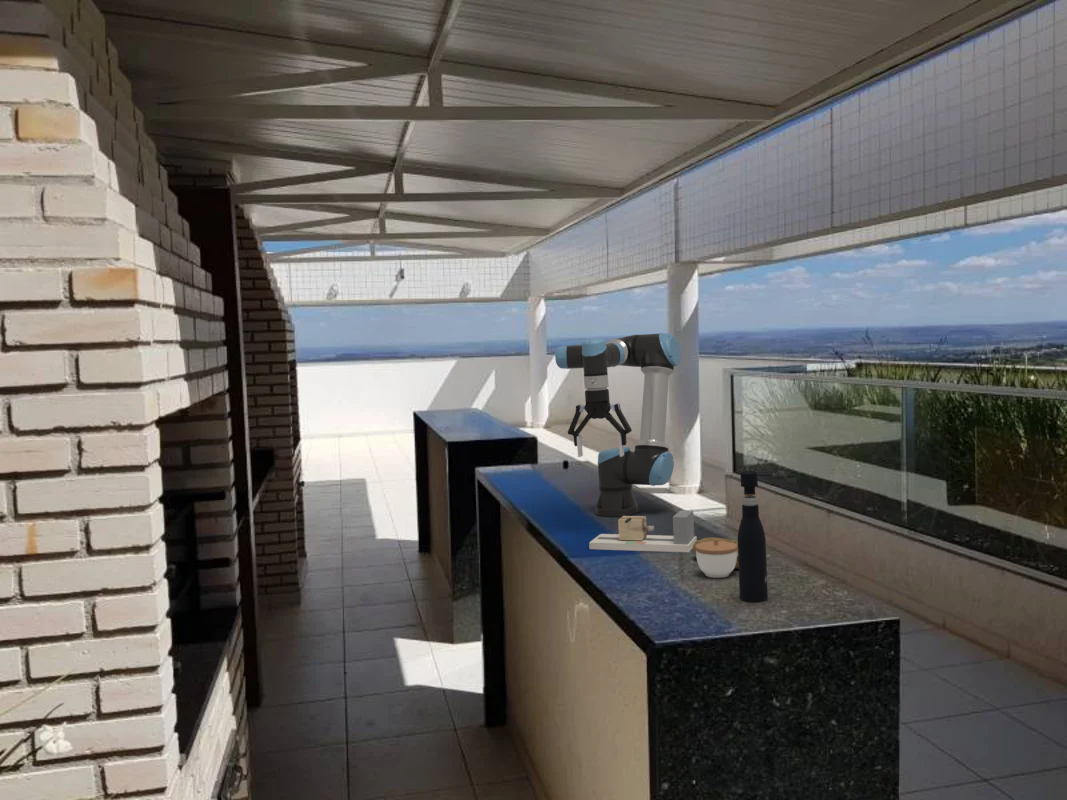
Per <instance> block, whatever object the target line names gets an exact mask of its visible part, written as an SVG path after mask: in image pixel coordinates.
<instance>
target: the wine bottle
mask: <svg viewBox="0 0 1067 800" xmlns="http://www.w3.org/2000/svg"><path fill="white" fill-rule="evenodd" d="M758 479H759V478H758V471H755V470H754V471H753V470H747V471H746V470H745V471H741V472H740V487H742V488H743V495H744V496H743V497H742V500H743V501H742V503H743V504H742V505H741V514H742V515H741V516H742V517H741V520H740V523H739V527H738V531H737V532H738V533H737V537H736V538H737V541H738V565H739V568H738V585H739V599H740V600H741V601H743V602H745V603H746V602H747V603H762V602H765V601H768V599H769V593H768V570H767V568H768V567H767V546H766V545H767V544H766V543H767V542H766V534H765V530H764V526H763V523H762V521H761V518H760V516H759V514H760V512H759V505H758V498H757V496H755V495H756V487H758V486H759V481H758Z"/></svg>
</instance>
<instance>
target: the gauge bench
mask: <svg viewBox="0 0 1067 800" xmlns="http://www.w3.org/2000/svg"><path fill="white" fill-rule="evenodd" d="M694 522H695V521H694V510H679V511H678V512H677V513H675V514H674V516H672V527H673V528H672V529H673V535H659V534H658V535H657V534H656V535H655V534H647V536H646V537H645V538H644V539H643V540H619V533H617V534H616V533H612V534H611V533H599V534H598V535H597V536H596V537H595V538H593V539H592V540H590V542H589V543H588V544H589V545H588V546H589V548H588V549H589V550H605V551H609V550H610V551H631V552H632V551H635V552H637V551H638V552H662V553H663V552H667V553H669V552H670V553H690V552H691V551H692V547H693V544H694V542H696V541H698V538H697V536H696V535H695V523H694Z"/></svg>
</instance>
